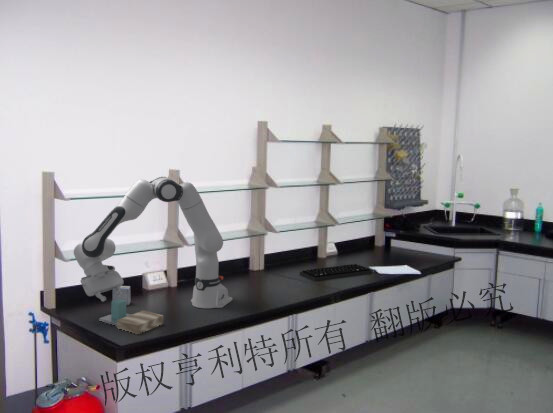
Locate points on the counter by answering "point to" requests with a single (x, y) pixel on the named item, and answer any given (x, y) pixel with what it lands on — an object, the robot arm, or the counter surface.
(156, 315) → the riser block
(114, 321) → the post stand
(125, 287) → the medicine box
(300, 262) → the counter surface
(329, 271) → the computer keyboard
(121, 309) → the teal square-faced block
